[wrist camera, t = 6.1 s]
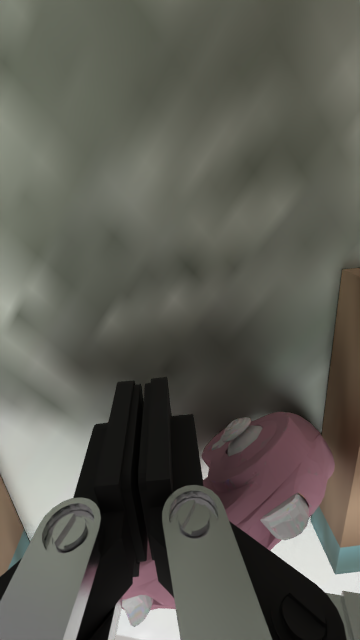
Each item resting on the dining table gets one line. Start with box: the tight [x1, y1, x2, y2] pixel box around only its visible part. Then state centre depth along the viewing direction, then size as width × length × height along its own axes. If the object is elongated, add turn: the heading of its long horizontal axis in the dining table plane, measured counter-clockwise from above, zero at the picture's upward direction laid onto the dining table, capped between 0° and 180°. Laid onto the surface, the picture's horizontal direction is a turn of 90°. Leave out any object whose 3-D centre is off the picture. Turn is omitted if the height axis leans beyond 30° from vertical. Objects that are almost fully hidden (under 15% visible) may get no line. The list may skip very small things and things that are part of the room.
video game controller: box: [122, 412, 335, 627], centre depth 12 cm, size 10×5×7 cm, turn 131°
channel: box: [0, 268, 360, 576], centre depth 13 cm, size 14×19×2 cm
